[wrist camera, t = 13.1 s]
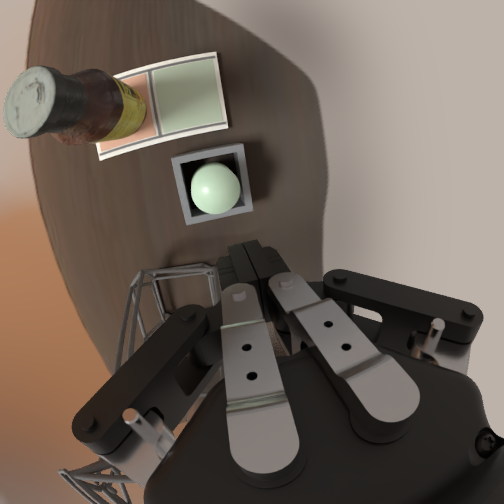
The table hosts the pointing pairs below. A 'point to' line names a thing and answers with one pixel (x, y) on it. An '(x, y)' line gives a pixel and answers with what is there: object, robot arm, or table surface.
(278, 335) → the robot arm
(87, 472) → the geometric lantern
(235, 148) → the button housing
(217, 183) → the button
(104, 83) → the sauce bottle
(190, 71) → the colouring card
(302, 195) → the table surface
